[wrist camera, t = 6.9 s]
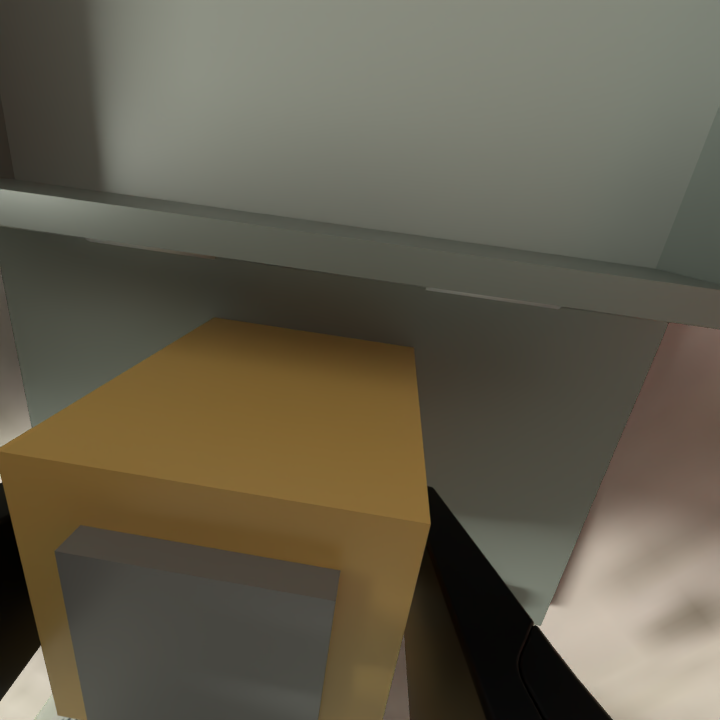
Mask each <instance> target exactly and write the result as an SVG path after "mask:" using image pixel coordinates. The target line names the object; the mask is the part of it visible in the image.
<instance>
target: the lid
mask: <svg viewBox="0 0 720 720" xmlns="http://www.w3.org/2000/svg"><path fill="white" fill-rule="evenodd" d="M0 268H1V273H2V278H3V283H4V288H5V293H6V298H7V303H8V308H9V314H10V319H11V324H12V329H13V334H14V339H15V344H16V349H17V354H18V359H19V364H20V370H21V375H22V380H23V385H24V390H25V395H26V400H27V405H28V410H29V415H30V421H31V426H32V428H33V427H35V426H36V425H38V424H40V423H41V422H43V421H45V420H46V419H48V418H49V417H51V416H53V415H54V414H56V413H58V412H59V411H61V410H63V409H64V408H66V407H68V406H69V405H71V404H72V403H74V402H76V401H77V400H79V399H81V398H82V397H84V396H86V395H87V394H89V393H91V392H92V391H94V390H96V389H97V388H99V387H100V386H102V385H104V384H105V383H107V382H109V381H110V380H112V379H114V378H115V377H117V376H119V375H120V374H122V373H123V372H125V371H127V370H128V369H130V368H132V367H133V366H135V365H137V364H138V363H140V362H142V361H143V360H145V359H146V358H148V357H150V356H151V355H153V354H155V353H156V352H158V351H160V350H161V349H163V348H165V347H166V346H168V345H170V344H171V343H173V342H174V341H176V340H178V339H179V338H181V337H183V336H184V335H186V334H188V333H189V332H191V331H193V330H194V329H196V328H197V327H199V326H201V325H202V324H204V323H206V322H207V321H209V320H211V319H212V318H214V317H215V318H221V319H228V320H235V321H241V322H248V323H254V324H261V325H268V326H274V327H281V328H288V329H294V330H301V331H307V332H314V333H321V334H327V335H334V336H340V337H347V338H354V339H360V340H367V341H373V342H380V343H387V344H393V345H400V346H406V347H413V348H414V355H415V366H416V376H417V386H418V397H419V407H420V418H421V428H422V439H423V449H424V459H425V470H426V480H427V486H431V487H433V488H434V489H435V490H436V491H437V493H438V494H439V495H440V497H441V498H442V499H443V501H444V502H445V503H446V505H447V506H448V507H449V509H450V510H451V511H452V513H453V514H454V515H455V517H456V518H457V519H458V521H459V522H460V523H461V525H462V526H463V527H464V529H465V530H466V531H467V533H468V534H469V535H470V537H471V538H472V539H473V541H474V542H475V543H476V545H477V546H478V547H479V549H480V550H481V551H482V553H483V554H484V555H485V557H486V558H487V559H488V561H489V562H490V563H491V565H492V566H493V567H494V569H495V570H496V571H497V573H498V574H499V575H500V577H501V578H502V580H503V581H504V582H505V584H506V585H507V586H508V588H509V589H510V590H511V592H512V593H513V594H514V596H515V597H516V598H517V600H518V601H519V602H520V604H521V605H522V606H523V608H524V609H525V610H526V612H527V613H528V614H529V616H530V617H531V618H532V620H533V621H534V625H539V626H541V624H542V622H543V619H544V617H545V615H546V612H547V610H548V607H549V605H550V603H551V600H552V598H553V596H554V593H555V591H556V589H557V586H558V584H559V581H560V579H561V577H562V574H563V572H564V570H565V567H566V565H567V562H568V560H569V558H570V555H571V553H572V551H573V548H574V546H575V544H576V541H577V539H578V536H579V534H580V532H581V529H582V527H583V525H584V522H585V520H586V518H587V515H588V513H589V510H590V508H591V506H592V503H593V501H594V499H595V496H596V494H597V492H598V489H599V487H600V484H601V482H602V480H603V477H604V475H605V473H606V470H607V468H608V465H609V463H610V461H611V458H612V456H613V454H614V451H615V449H616V447H617V444H618V442H619V439H620V437H621V435H622V432H623V430H624V428H625V425H626V423H627V421H628V418H629V416H630V413H631V411H632V409H633V406H634V404H635V402H636V399H637V397H638V394H639V392H640V390H641V387H642V385H643V383H644V380H645V378H646V376H647V373H648V371H649V368H650V366H651V364H652V361H653V359H654V357H655V354H656V352H657V350H658V347H659V345H660V342H661V340H662V338H663V335H664V333H665V331H666V328H667V326H668V324H669V323H668V322H665V321H658V320H651V319H644V318H637V317H630V316H623V315H616V314H610V313H603V312H596V311H589V310H582V309H575V308H568V307H561V308H560V309H553V308H546V307H539V306H532V305H526V304H519V303H512V302H505V301H498V300H491V299H484V298H477V297H470V296H463V295H456V294H450V293H443V292H436V291H429V290H426V287H422V286H416V285H409V284H402V283H395V282H388V281H381V280H374V279H367V278H360V277H353V276H346V275H339V274H332V273H325V272H319V271H312V270H305V269H298V268H291V267H284V266H277V265H270V264H263V263H256V262H249V261H242V260H235V259H228V258H222V257H215V259H207V258H201V257H194V256H187V255H180V254H173V253H166V252H159V251H152V250H145V249H138V248H131V247H125V246H118V245H111V244H104V243H97V242H90V241H88V240H87V239H86V238H83V237H76V236H69V235H62V234H55V233H48V232H41V231H34V230H27V229H21V228H14V227H7V226H0Z"/></svg>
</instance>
